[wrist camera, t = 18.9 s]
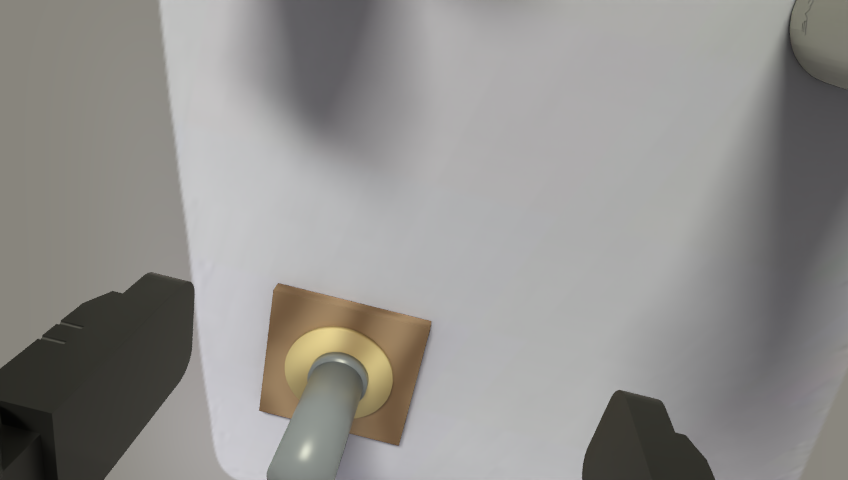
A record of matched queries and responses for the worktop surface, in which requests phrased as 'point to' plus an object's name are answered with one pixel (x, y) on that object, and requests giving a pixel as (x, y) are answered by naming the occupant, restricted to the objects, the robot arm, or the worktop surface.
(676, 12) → the worktop surface
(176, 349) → the robot arm
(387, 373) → the post base
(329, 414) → the grey rounded cylinder
